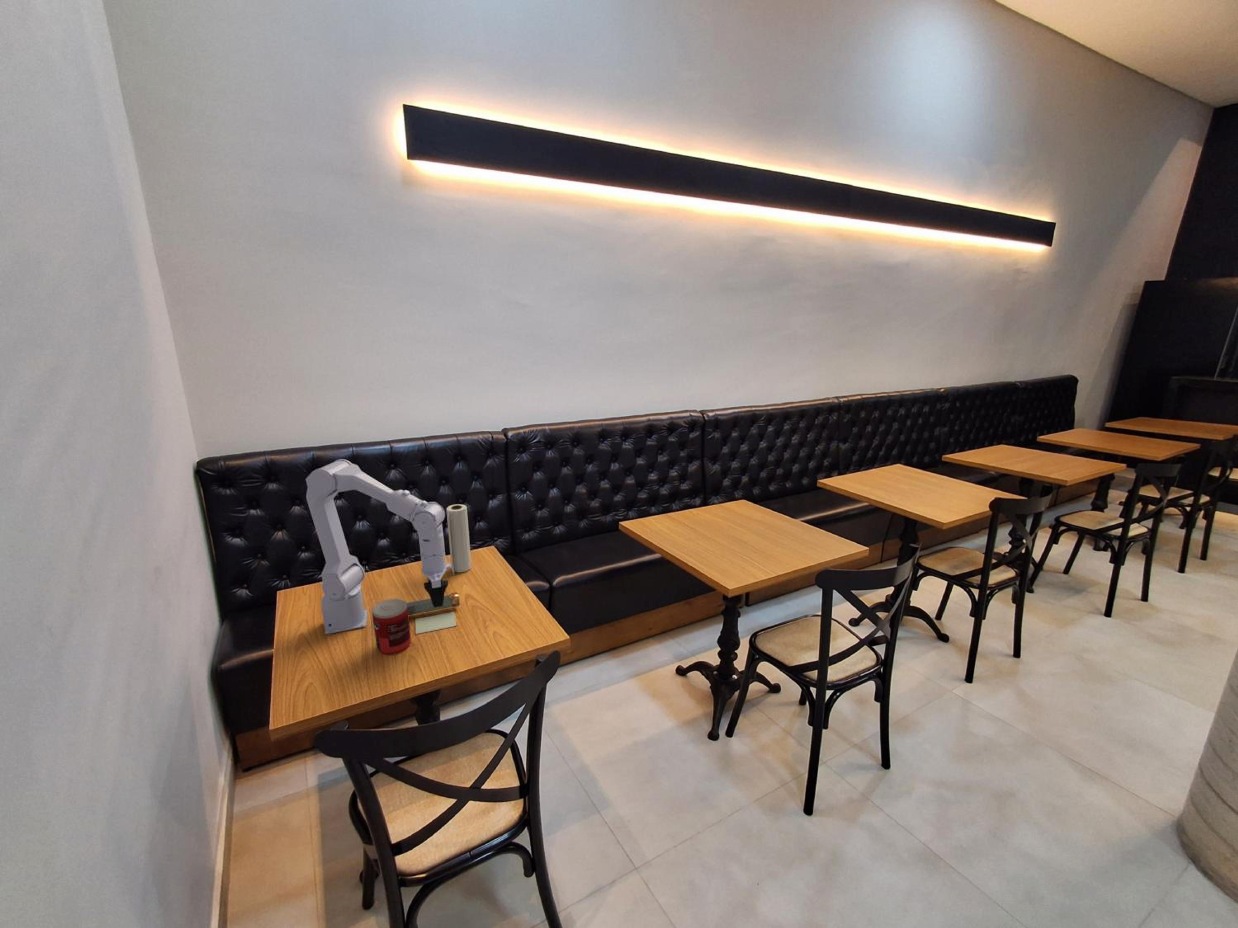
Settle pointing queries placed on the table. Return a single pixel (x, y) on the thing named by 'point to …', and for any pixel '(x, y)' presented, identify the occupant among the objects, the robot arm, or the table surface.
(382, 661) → the table surface
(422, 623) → the plate
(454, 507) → the paper towel roll
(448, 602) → the grey copper-tipped rod
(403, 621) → the canned food
